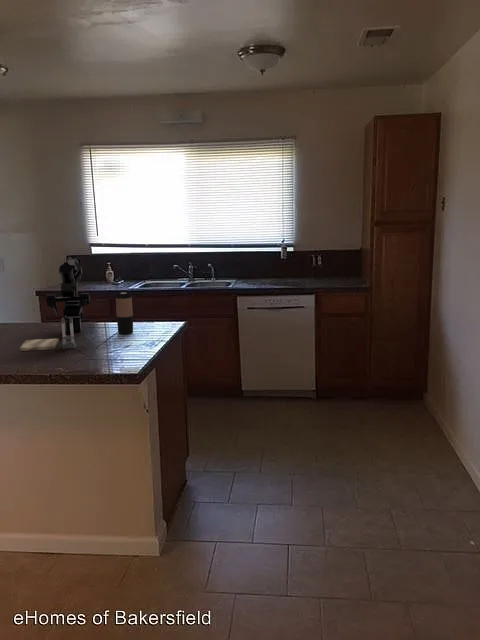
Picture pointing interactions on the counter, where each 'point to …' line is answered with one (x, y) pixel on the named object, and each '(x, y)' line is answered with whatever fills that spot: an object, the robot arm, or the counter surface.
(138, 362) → the counter surface
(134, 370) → the counter surface
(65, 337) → the two-prong grey stand
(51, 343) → the plate
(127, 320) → the travel mug
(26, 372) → the counter surface
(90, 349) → the counter surface
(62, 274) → the robot arm
